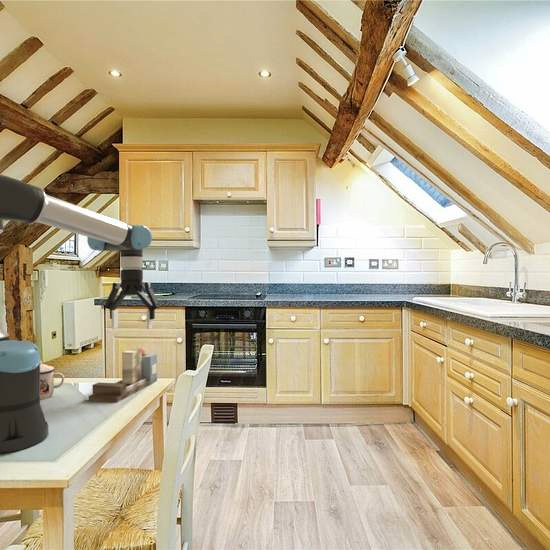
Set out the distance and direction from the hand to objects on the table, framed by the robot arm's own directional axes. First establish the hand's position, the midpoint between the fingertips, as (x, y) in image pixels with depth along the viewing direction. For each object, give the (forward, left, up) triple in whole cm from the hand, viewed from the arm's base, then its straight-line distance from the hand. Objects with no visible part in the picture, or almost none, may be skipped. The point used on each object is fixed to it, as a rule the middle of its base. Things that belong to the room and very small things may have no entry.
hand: (132, 328), depth 144 cm
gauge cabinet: (+6, 0, -21) cm, 22 cm away
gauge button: (+6, 0, -12) cm, 14 cm away
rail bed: (-5, 0, -21) cm, 21 cm away
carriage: (0, 0, -19) cm, 19 cm away
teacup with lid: (-16, +23, -21) cm, 35 cm away
